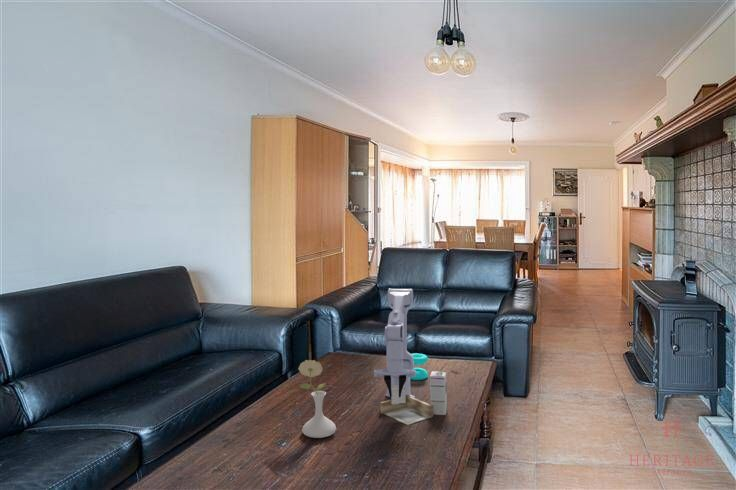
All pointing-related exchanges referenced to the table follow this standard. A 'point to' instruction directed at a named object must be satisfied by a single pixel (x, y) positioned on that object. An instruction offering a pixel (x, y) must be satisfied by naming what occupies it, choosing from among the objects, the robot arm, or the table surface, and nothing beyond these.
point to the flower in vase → (316, 404)
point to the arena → (407, 410)
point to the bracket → (397, 395)
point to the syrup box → (438, 392)
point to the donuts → (420, 373)
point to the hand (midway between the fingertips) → (395, 396)
